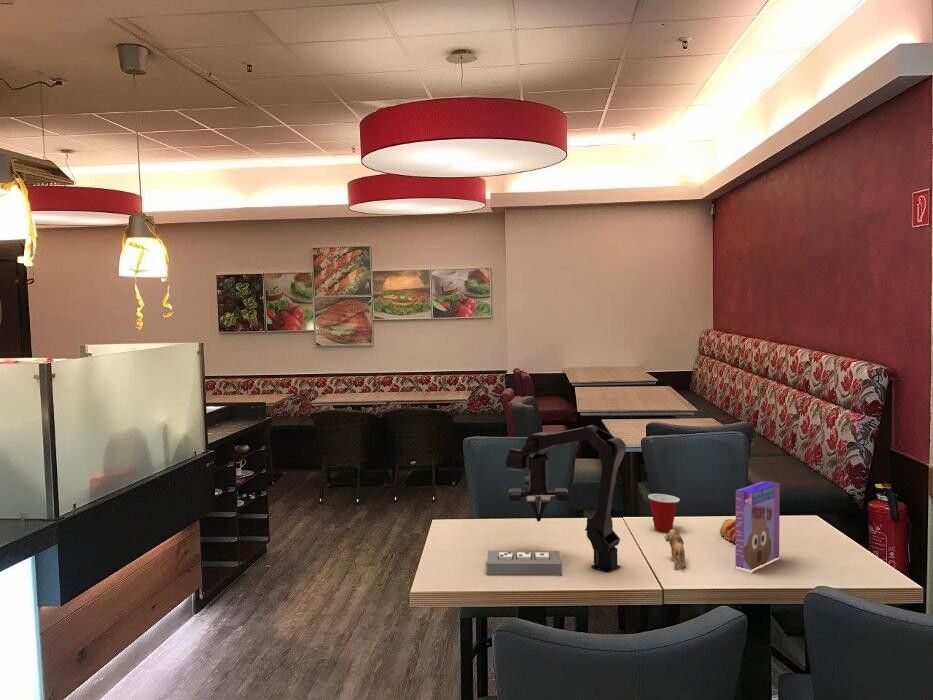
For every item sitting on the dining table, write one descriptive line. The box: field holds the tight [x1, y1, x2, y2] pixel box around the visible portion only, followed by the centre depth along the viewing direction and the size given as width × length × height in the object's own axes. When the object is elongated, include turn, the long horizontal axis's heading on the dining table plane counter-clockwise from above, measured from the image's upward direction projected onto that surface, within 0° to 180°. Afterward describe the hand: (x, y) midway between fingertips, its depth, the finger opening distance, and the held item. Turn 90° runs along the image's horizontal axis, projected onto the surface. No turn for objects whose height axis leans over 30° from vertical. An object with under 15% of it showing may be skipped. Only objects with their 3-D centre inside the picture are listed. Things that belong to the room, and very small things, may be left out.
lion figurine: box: [663, 529, 687, 571], centre depth 233 cm, size 15×5×9 cm, turn 0°
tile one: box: [535, 552, 549, 560], centre depth 231 cm, size 4×4×2 cm
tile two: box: [517, 552, 531, 560], centre depth 232 cm, size 4×4×2 cm
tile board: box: [486, 550, 563, 576], centre depth 232 cm, size 22×12×3 cm, turn 86°
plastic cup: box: [647, 493, 681, 533], centre depth 268 cm, size 11×11×12 cm
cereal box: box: [735, 480, 781, 570], centre depth 231 cm, size 17×5×24 cm, turn 131°
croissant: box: [719, 518, 736, 543], centre depth 258 cm, size 21×10×8 cm, turn 172°
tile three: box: [499, 552, 512, 560], centre depth 232 cm, size 4×4×2 cm
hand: (538, 521), depth 243 cm, fingers closed
